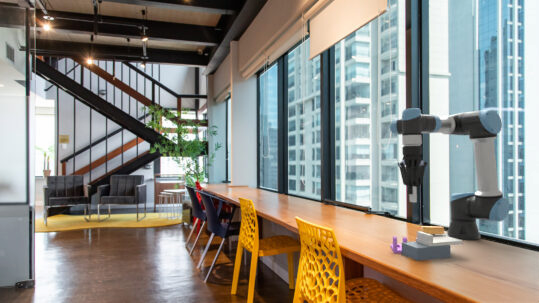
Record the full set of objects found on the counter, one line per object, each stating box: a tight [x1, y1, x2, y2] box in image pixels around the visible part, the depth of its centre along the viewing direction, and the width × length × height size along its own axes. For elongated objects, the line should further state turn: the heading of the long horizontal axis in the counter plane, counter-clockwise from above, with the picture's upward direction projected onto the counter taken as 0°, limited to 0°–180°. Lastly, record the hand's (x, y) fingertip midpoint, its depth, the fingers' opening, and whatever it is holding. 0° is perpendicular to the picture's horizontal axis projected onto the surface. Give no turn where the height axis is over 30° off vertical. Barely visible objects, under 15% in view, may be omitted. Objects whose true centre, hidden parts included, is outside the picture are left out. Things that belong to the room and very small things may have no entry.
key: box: [420, 225, 449, 237], centre depth 159 cm, size 3×11×9 cm, turn 80°
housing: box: [401, 241, 452, 262], centre depth 152 cm, size 22×17×5 cm
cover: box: [415, 231, 464, 247], centre depth 149 cm, size 16×9×4 cm, turn 105°
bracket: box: [390, 235, 408, 255], centre depth 158 cm, size 13×6×7 cm, turn 168°
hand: (413, 201), depth 147 cm, fingers closed
